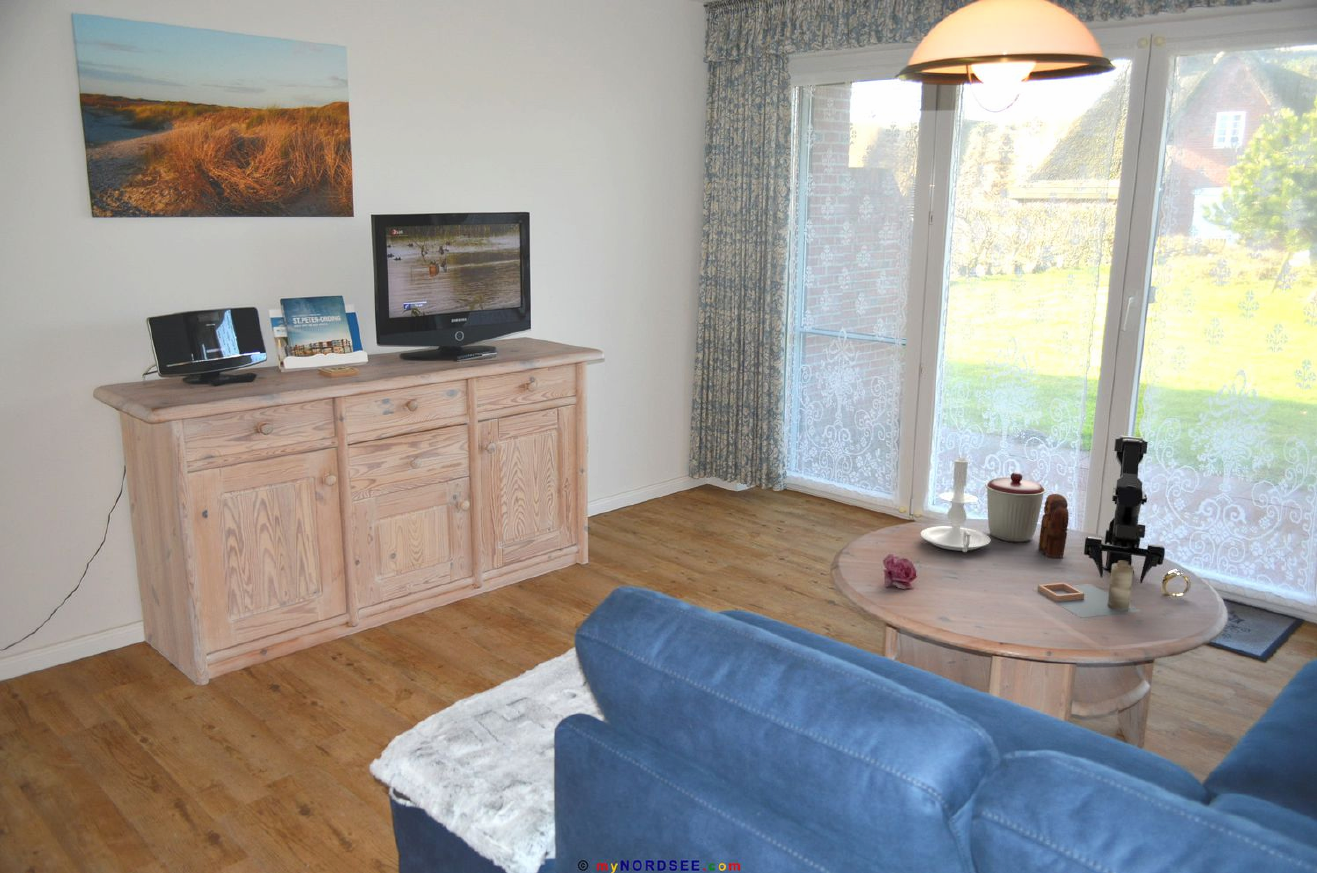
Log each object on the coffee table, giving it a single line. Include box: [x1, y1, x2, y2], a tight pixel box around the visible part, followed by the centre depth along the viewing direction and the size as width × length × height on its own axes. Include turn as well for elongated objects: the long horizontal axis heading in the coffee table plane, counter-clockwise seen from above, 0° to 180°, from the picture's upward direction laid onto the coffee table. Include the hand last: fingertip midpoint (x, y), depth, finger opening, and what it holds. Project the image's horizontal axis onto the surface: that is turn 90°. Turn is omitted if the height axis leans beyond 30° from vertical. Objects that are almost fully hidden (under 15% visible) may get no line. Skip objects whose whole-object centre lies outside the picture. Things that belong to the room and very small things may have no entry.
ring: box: [1161, 568, 1192, 599], centre depth 263 cm, size 7×3×8 cm, turn 79°
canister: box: [984, 471, 1047, 543], centre depth 312 cm, size 18×18×21 cm
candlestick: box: [920, 457, 992, 553], centre depth 300 cm, size 21×25×28 cm
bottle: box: [1107, 560, 1134, 611], centre depth 254 cm, size 5×5×12 cm
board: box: [1032, 582, 1143, 619], centre depth 259 cm, size 20×18×2 cm
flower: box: [882, 554, 918, 590], centre depth 272 cm, size 10×9×9 cm
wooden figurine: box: [1038, 493, 1070, 559], centre depth 298 cm, size 12×6×18 cm, turn 176°
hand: (1121, 579), depth 254 cm, fingers open, 9 cm apart
